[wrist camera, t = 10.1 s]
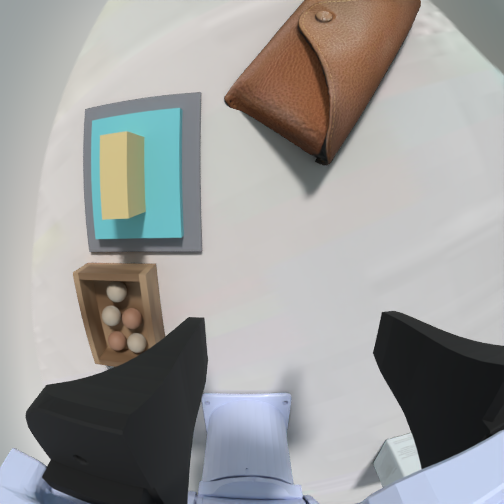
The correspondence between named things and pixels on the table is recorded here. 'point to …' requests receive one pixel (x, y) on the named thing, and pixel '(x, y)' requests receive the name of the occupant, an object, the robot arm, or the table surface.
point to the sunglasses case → (323, 70)
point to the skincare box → (397, 459)
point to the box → (119, 309)
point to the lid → (137, 175)
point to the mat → (189, 173)
